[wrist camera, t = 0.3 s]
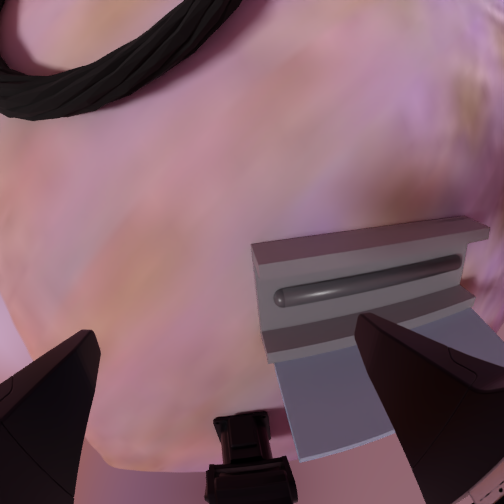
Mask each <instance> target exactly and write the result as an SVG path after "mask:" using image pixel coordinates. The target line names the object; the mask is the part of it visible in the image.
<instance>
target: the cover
mask: <svg viewBox="0 0 504 504" xmlns="http://www.w3.org/2000/svg"><path fill="white" fill-rule="evenodd" d="M409 330H412V331H414V332H416V333H419V334H421V335H423V336H425V337H428V338H430V339H432V340H435V341H437V342H439V343H442V344H444V345H446V346H448V347H451V348H453V349H455V350H458V351H460V352H463V353H465V354H468V355H470V356H473V357H476V358H479V359H481V360H484V361H487V362H490V363H493V364H496V365H499V366H502V367H504V342H503V341H502V340H501V339H500V337H499V336H498V335H497V334H496V333H495V332H494V331H493V330H492V329H491V328H490V327H489V326H488V325H487V324H486V323H485V322H484V321H483V320H482V318H481V317H480V316H479V315H478V314H477V313H476V312H475V311H474V310H473V309H472V308H471V307H470V308H468V309H465V310H463V311H460V312H457V313H455V314H452V315H450V316H447V317H444V318H441V319H439V320H436V321H433V322H430V323H427V324H424V325H421V326H419V327H416V328H412V329H409ZM274 366H275V372H276V376H277V380H278V383H279V387H280V391H281V395H282V399H283V402H284V406H285V410H286V414H287V418H288V421H289V425H290V429H291V433H292V436H293V440H294V444H295V447H296V451H297V455H298V459H299V462H305V461H309V460H313V459H317V458H321V457H325V456H328V455H332V454H335V453H339V452H343V451H346V450H349V449H352V448H355V447H358V446H361V445H364V444H367V443H370V442H373V441H376V440H378V439H381V438H384V437H386V436H389V435H391V434H394V433H396V432H395V430H394V428H393V426H392V424H391V422H390V419H389V417H388V415H387V413H386V411H385V409H384V407H383V405H382V403H381V400H380V398H379V396H378V394H377V392H376V390H375V388H374V386H373V384H372V382H371V380H370V378H369V376H368V374H367V371H366V369H365V366H364V363H363V360H362V358H361V355H360V352H359V349H358V347H357V345H354V346H350V347H347V348H342V349H338V350H334V351H330V352H326V353H321V354H317V355H312V356H308V357H303V358H298V359H293V360H288V361H282V362H277V363H274Z"/></svg>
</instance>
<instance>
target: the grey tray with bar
mask: <svg viewBox="0 0 504 504" xmlns="http://www.w3.org/2000/svg"><path fill="white" fill-rule="evenodd" d="M489 231H490V227H488V226H486V225H484V224H482V223H479V222H477V221H475V220H473V219H471V218H468V217H466V216H459V217H451V218H444V219H436V220H428V221H420V222H412V223H404V224H397V225H389V226H382V227H374V228H366V229H359V230H351V231H344V232H336V233H329V234H322V235H314V236H307V237H300V238H292V239H285V240H278V241H271V242H264V243H257V244H251V249H252V259H253V268H254V277H255V286H256V295H257V304H258V313H259V322H260V331H261V337H262V341H263V345H264V349H265V353H266V357H267V361H268V364H271V363H277V362H282V361H288V360H293V359H298V358H303V357H308V356H312V355H317V354H321V353H326V352H330V351H334V350H338V349H342V348H347V347H350V346H354V345H357V344H356V341H355V338H354V332H355V327H356V323H357V318H358V315H359V314H361V313H367V312H370V313H373V314H375V315H377V316H380V317H382V318H384V319H387V320H389V321H391V322H393V323H396V324H398V325H400V326H403V327H405V328H407V329H412V328H416V327H419V326H421V325H424V324H427V323H430V322H433V321H436V320H439V319H441V318H444V317H447V316H450V315H452V314H455V313H457V312H460V311H463V310H465V309H468V308H470V307H473V305H474V301H475V298H476V297H475V296H474V295H473V294H471V293H470V292H469V291H467V290H466V289H465V288H463V287H462V286H461V285H460V280H461V276H462V271H463V266H464V260H465V255H466V249H467V243H472V242H477V241H481V240H486V239H488V238H489Z"/></svg>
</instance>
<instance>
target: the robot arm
mask: <svg viewBox="0 0 504 504" xmlns="http://www.w3.org/2000/svg"><path fill="white" fill-rule="evenodd" d="M354 338H355V341H356V344H357V347H358V349H359V352H360V355H361V358H362V360H363V363H364V366H365V369H366V371H367V374H368V376H369V378H370V380H371V382H372V384H373V386H374V388H375V390H376V392H377V394H378V396H379V398H380V400H381V403H382V405H383V407H384V409H385V411H386V413H387V415H388V417H389V419H390V422H391V424H392V426H393V428H394V430H395V432H396V434H397V437H398V439H399V441H400V443H401V445H402V447H403V450H404V452H405V454H406V457H407V459H408V461H409V464H410V466H411V468H412V471H413V473H414V476H415V478H416V480H417V482H418V485H419V487H420V490H421V492H422V494H423V497H424V499H425V502H426V504H456V503H457V502H459V501H461V500H462V499H464V498H465V497H467V496H468V495H470V497H471V498H472V500H473V502H474V503H472V504H504V367H502V366H499V365H496V364H493V363H490V362H487V361H484V360H481V359H479V358H476V357H473V356H470V355H468V354H465V353H463V352H460V351H458V350H455V349H453V348H451V347H448V346H446V345H444V344H442V343H439V342H437V341H435V340H432V339H430V338H428V337H425V336H423V335H421V334H419V333H416V332H414V331H412V330H409V329H407V328H405V327H403V326H400V325H398V324H396V323H393V322H391V321H389V320H387V319H384V318H382V317H380V316H377V315H375V314H373V313H370V312H367V313H361V314H359V315H358V318H357V323H356V327H355V332H354ZM100 356H101V352H100V348H99V345H98V342H97V339H96V336H95V333H94V332H93V331H92V330H81V331H79V332H77V333H76V334H74V335H73V336H71V337H70V338H68V339H67V340H65V341H64V342H62V343H61V344H59V345H58V346H56V347H55V348H53V349H51V350H50V351H48V352H47V353H45V354H44V355H42V356H41V357H39V358H38V359H36V360H35V361H33V362H32V363H30V364H29V365H28V366H26V367H25V368H23V369H22V370H20V371H19V372H17V373H16V374H14V375H13V376H11V377H10V378H9V379H7V380H5V381H4V382H3V383H1V384H0V504H74V498H73V497H74V494H75V486H76V480H77V473H78V467H79V461H80V456H81V450H82V445H83V440H84V436H85V431H86V426H87V422H88V418H89V413H90V409H91V405H92V401H93V397H94V393H95V387H96V381H97V374H98V368H99V362H100ZM213 424H214V426H215V429H216V432H217V434H218V437H219V440H220V442H221V445H222V457H223V464H220V465H214V464H209V470H207V471H206V490H205V496H204V497H205V501H207V502H208V503H209V504H293V503H296V502H298V495H297V489H296V484H295V480H294V477H293V475H292V471H291V468H290V465H289V462H288V460H287V457H286V456H281V457H279V458H273V457H272V452H271V448H270V443H269V440H270V439H271V436H270V427H269V419H268V413H267V412H261V413H254V414H248V415H241V416H233V417H225V418H216V419H214V420H213Z"/></svg>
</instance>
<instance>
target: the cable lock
mask: <svg viewBox="0 0 504 504" xmlns="http://www.w3.org/2000/svg"><path fill="white" fill-rule="evenodd" d="M4 1H5V0H0V11H1V8H2V6H3V3H4ZM241 1H242V0H184V1H183V2H182V3H180V4H179V5H178V6H177V7H175V8H174V9H173V10H171V11H170V12H169V13H168V14H167V15H165V16H164V17H163V18H162V19H161V20H159V21H158V22H157V23H156V24H155V25H154V26H153V27H151V28H150V29H149V30H148V31H146V32H145V33H143V34H142V35H141V36H139V37H138V38H137V39H135V40H133V41H131V42H129V43H127V44H125V45H123V46H122V47H120V48H118V49H116V50H114V51H113V52H111V53H109V54H107V55H106V56H104V57H102V58H101V59H99V60H97V61H96V62H93V63H91V64H89V65H86V66H82V67H79V68H75V69H72V70H68V71H65V72H62V73H59V74H56V75H52V76H28V75H25V74H23V73H20V72H18V71H15V70H13V69H10V68H9V67H8V65H7V64H6V63H5V61H4V60H3V58H2V57H1V56H0V113H1V114H3V115H5V116H7V117H9V118H13V117H15V118H20V119H25V120H30V121H37V120H45V119H55V118H60V117H70V116H74V115H78V114H82V113H87V112H91V111H95V110H97V109H99V108H100V107H102V106H104V105H105V104H108V103H110V102H113V101H115V100H118V99H121V98H123V97H126V96H129V95H131V94H132V93H134V92H135V91H137V90H138V89H140V88H142V87H143V86H145V85H146V84H148V83H150V82H151V81H153V80H155V79H156V78H158V77H160V76H161V75H163V74H164V73H166V72H167V71H168V70H170V69H171V68H173V67H174V66H175V65H177V64H178V63H180V62H181V61H183V60H184V59H186V58H187V57H189V56H190V55H192V54H193V53H195V52H196V51H197V50H198V48H199V47H200V46H201V45H202V44H203V43H204V42H205V41H206V40H207V39H208V38H209V37H210V36H211V35H212V34H213V33H214V32H215V31H216V30H217V29H218V28H219V27H220V26H221V25H222V24H223V23H224V22H225V21H226V19H227V18H228V17H229V16H230V15H231V14H232V13H233V12H234V11H235V10H236V9H237V8H238V7H239V5H240V3H241Z"/></svg>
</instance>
